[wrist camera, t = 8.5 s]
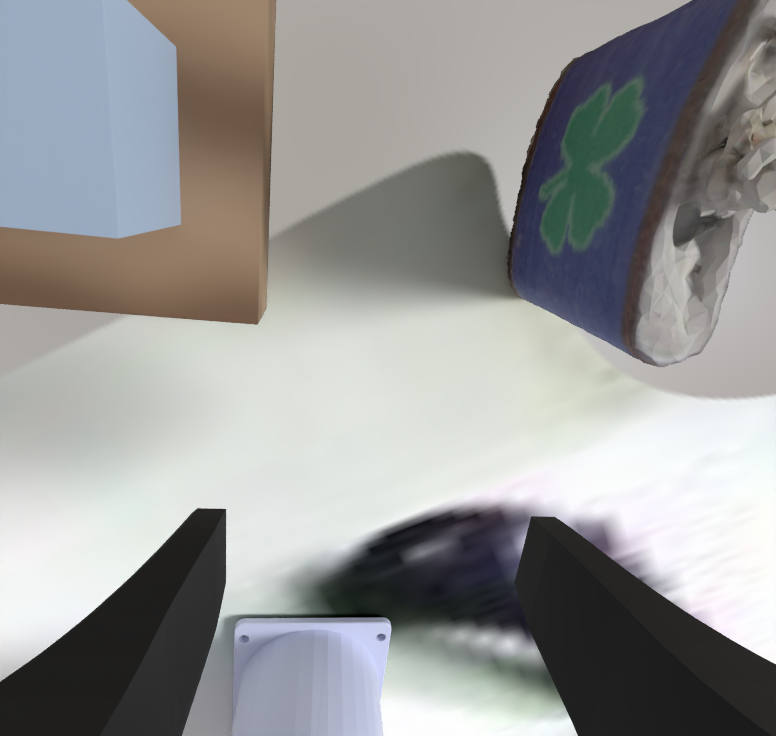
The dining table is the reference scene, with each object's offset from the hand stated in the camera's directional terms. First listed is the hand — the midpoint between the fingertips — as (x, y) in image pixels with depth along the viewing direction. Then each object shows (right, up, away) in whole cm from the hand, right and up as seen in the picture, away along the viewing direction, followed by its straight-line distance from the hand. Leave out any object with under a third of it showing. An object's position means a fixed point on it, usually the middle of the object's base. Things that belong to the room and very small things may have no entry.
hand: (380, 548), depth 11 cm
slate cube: (-9, +11, +3) cm, 15 cm away
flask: (+7, +12, +8) cm, 16 cm away
